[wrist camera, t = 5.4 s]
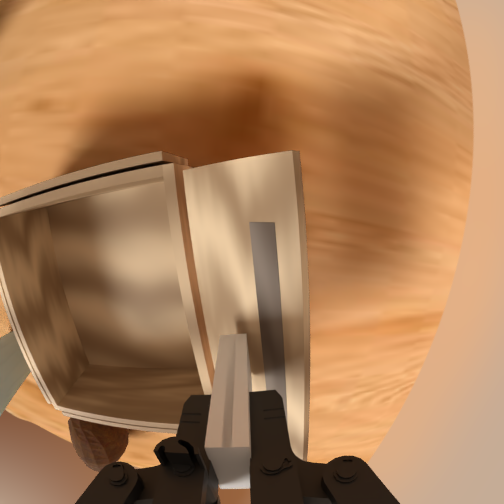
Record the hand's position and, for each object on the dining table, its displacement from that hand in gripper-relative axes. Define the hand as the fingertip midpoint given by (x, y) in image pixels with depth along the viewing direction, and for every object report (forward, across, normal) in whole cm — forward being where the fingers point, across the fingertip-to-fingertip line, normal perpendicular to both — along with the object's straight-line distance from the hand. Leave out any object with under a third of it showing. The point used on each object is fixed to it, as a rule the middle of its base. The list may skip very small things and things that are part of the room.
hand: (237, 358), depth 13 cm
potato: (+12, -19, -18) cm, 28 cm away
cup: (+12, -30, -8) cm, 33 cm away
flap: (+3, -2, 0) cm, 3 cm away
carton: (+11, -10, 0) cm, 15 cm away
